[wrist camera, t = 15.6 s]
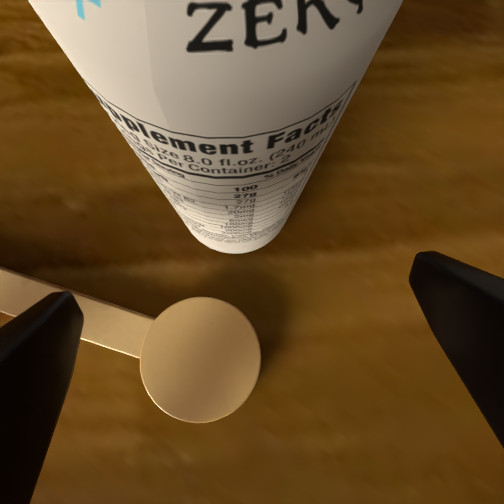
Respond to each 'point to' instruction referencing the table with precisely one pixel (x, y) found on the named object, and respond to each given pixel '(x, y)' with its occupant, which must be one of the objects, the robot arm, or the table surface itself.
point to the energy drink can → (223, 95)
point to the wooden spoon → (165, 346)
